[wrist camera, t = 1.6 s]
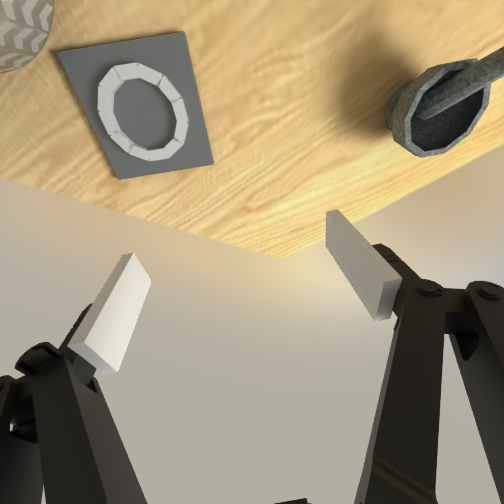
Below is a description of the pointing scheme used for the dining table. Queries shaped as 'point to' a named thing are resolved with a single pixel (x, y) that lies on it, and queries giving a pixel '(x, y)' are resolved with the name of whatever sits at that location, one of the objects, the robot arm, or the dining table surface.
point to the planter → (23, 31)
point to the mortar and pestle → (443, 104)
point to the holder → (142, 103)
